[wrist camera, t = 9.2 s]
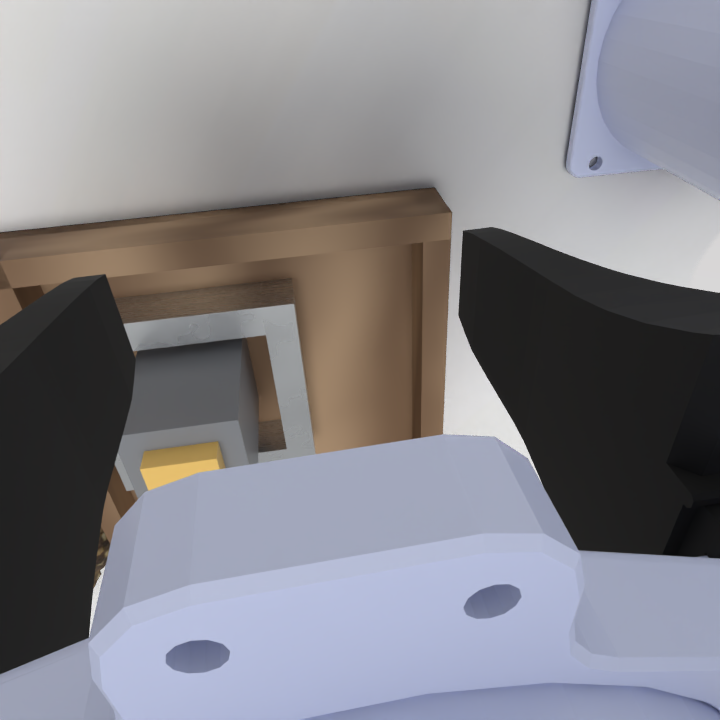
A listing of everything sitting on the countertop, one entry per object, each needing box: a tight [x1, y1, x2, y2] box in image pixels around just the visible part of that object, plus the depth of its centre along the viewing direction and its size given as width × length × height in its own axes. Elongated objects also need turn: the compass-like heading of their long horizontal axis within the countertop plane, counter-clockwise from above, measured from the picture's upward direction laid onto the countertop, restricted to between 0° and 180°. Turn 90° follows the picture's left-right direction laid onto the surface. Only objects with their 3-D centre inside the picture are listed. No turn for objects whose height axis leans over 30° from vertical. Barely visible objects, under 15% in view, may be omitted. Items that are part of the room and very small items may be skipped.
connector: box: [118, 338, 259, 499], centre depth 22 cm, size 4×4×7 cm
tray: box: [0, 188, 452, 544], centre depth 25 cm, size 16×18×2 cm
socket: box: [114, 278, 316, 491], centre depth 24 cm, size 8×8×2 cm
